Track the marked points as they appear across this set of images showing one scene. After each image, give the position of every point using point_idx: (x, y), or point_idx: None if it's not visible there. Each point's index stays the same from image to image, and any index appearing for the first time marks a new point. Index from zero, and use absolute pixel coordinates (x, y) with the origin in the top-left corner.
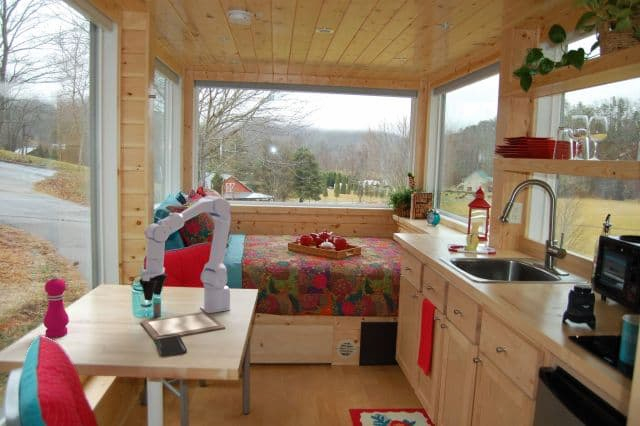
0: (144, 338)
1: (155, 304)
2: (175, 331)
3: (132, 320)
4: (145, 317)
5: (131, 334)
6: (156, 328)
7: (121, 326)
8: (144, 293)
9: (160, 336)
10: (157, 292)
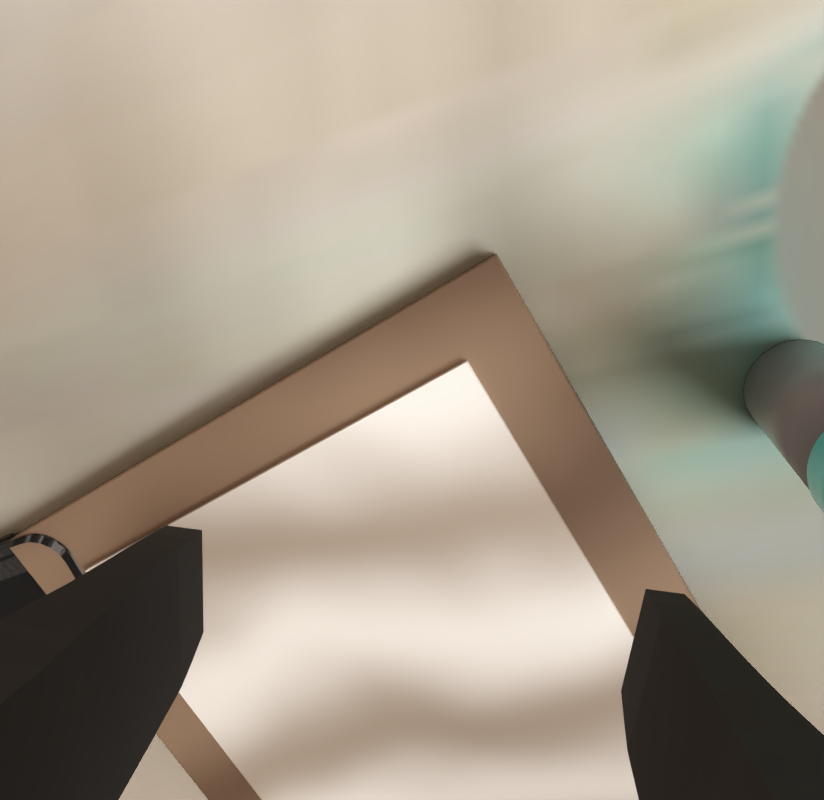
0: (56, 421)
1: (808, 446)
2: (210, 690)
3: (618, 93)
4: (748, 243)
5: (130, 253)
6: (266, 502)
7: (369, 22)
8: (71, 594)
9: (75, 577)
10: (640, 688)
